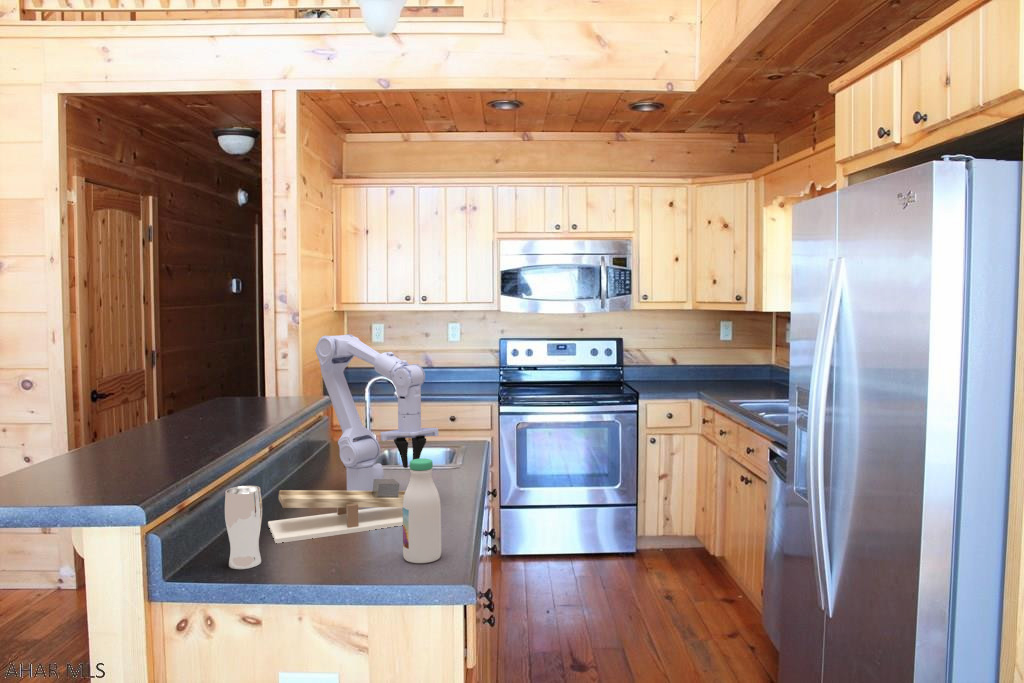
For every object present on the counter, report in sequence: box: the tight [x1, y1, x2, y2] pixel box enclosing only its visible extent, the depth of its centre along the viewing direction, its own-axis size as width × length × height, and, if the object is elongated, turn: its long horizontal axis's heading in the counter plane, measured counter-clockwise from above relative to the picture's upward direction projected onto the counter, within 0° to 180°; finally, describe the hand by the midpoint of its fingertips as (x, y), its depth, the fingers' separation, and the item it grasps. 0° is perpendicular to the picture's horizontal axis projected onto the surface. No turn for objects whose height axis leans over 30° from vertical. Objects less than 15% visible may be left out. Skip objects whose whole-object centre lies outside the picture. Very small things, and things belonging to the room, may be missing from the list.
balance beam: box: [278, 489, 406, 509], centre depth 170 cm, size 30×9×3 cm, turn 115°
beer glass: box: [224, 485, 263, 570], centre depth 144 cm, size 7×7×15 cm
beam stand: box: [267, 504, 403, 544], centre depth 170 cm, size 34×14×6 cm, turn 115°
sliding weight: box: [372, 478, 401, 498], centre depth 174 cm, size 5×5×4 cm
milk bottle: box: [402, 458, 442, 564], centre depth 147 cm, size 8×8×20 cm
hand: (410, 466), depth 183 cm, fingers open, 2 cm apart
